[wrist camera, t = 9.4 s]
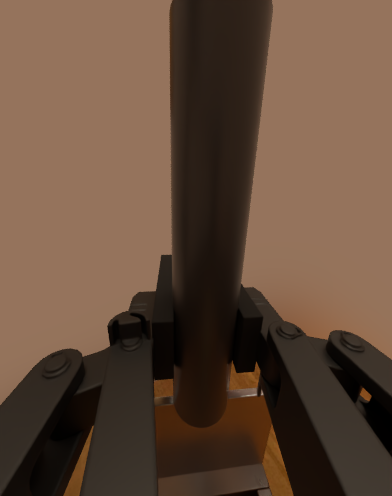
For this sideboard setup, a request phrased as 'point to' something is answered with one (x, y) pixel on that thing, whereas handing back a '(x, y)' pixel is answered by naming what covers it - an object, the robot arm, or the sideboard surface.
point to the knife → (212, 231)
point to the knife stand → (218, 483)
